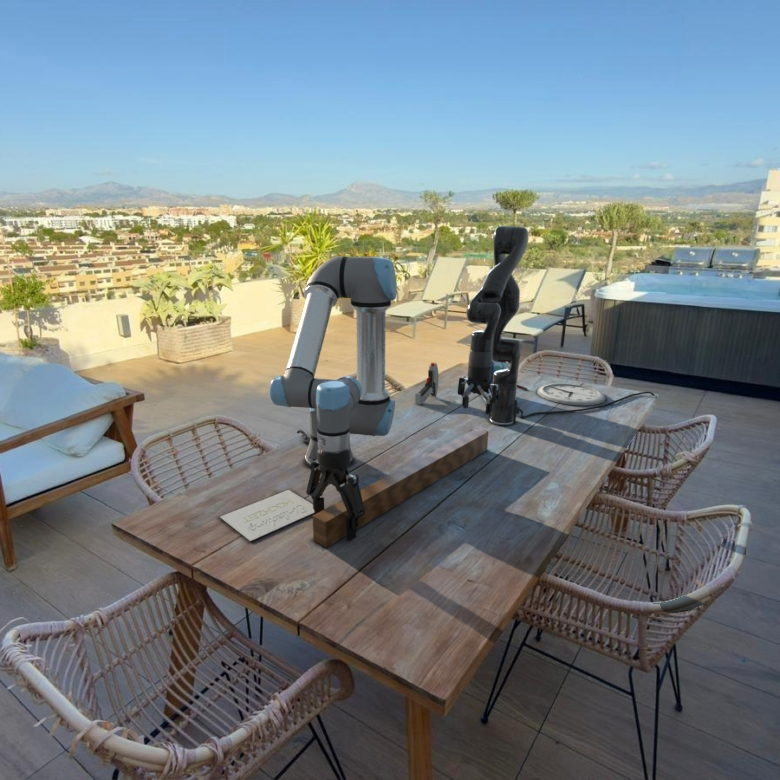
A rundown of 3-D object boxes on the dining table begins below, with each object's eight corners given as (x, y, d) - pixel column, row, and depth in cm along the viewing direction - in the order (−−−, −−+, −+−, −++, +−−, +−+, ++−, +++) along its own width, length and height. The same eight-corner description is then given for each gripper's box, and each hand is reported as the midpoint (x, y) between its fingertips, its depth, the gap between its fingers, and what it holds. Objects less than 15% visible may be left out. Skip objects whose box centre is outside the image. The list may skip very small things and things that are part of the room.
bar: (475, 446, 183) (477, 428, 181) (487, 450, 180) (488, 431, 178) (313, 540, 127) (312, 515, 125) (326, 547, 124) (325, 522, 122)
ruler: (503, 382, 259) (503, 380, 259) (504, 382, 259) (504, 380, 259) (526, 390, 247) (526, 388, 247) (527, 390, 247) (527, 388, 247)
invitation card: (288, 489, 150) (320, 509, 140) (288, 490, 150) (320, 510, 140) (219, 516, 136) (250, 540, 125) (219, 517, 136) (250, 541, 126)
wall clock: (618, 401, 228) (551, 402, 225) (618, 405, 228) (551, 406, 226) (588, 382, 256) (528, 382, 254) (587, 385, 257) (528, 385, 254)
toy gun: (414, 370, 220) (434, 361, 231) (415, 405, 226) (434, 395, 237) (419, 371, 219) (438, 362, 230) (419, 406, 225) (438, 396, 236)
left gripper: (289, 439, 126) (292, 520, 133) (358, 467, 113) (358, 555, 119) (312, 431, 132) (314, 508, 139) (381, 456, 118) (380, 541, 125)
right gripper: (455, 361, 170) (452, 408, 175) (494, 369, 161) (490, 418, 166) (467, 357, 175) (464, 403, 180) (505, 365, 167) (501, 413, 172)
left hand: (335, 530), depth 129 cm, fingers open, 10 cm apart
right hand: (476, 410), depth 173 cm, fingers open, 8 cm apart
